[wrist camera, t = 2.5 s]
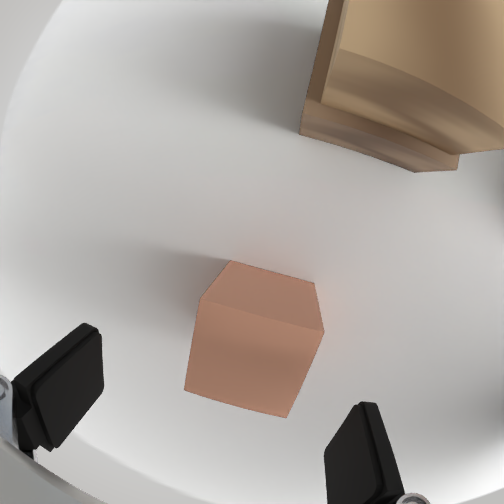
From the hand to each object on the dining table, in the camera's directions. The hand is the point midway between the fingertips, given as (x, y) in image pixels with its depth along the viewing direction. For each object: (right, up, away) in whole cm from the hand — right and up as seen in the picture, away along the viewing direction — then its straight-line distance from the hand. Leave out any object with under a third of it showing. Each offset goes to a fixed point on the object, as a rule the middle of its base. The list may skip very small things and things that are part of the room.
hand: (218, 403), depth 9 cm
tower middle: (+7, +13, 0) cm, 15 cm away
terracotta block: (+2, +2, +8) cm, 9 cm away
